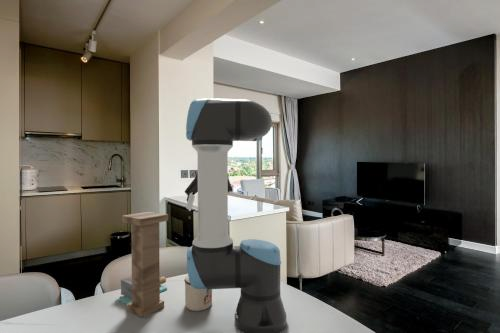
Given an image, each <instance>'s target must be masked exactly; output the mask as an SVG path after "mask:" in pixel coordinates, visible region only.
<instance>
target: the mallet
mask: <svg viewBox="0 0 500 333" xmlns="http://www.w3.org/2000/svg"><path fill="white" fill-rule="evenodd" d="M166 282H167V278H166V277H165V276H161V277H160V285H161V286H162V285H163V284H166ZM120 294H121V295H122V296H123V297H124V296H126V297H128V298H130V299H132V275H130V276H128V277H126V278H125V277H124V278H122V279H120Z"/></svg>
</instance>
